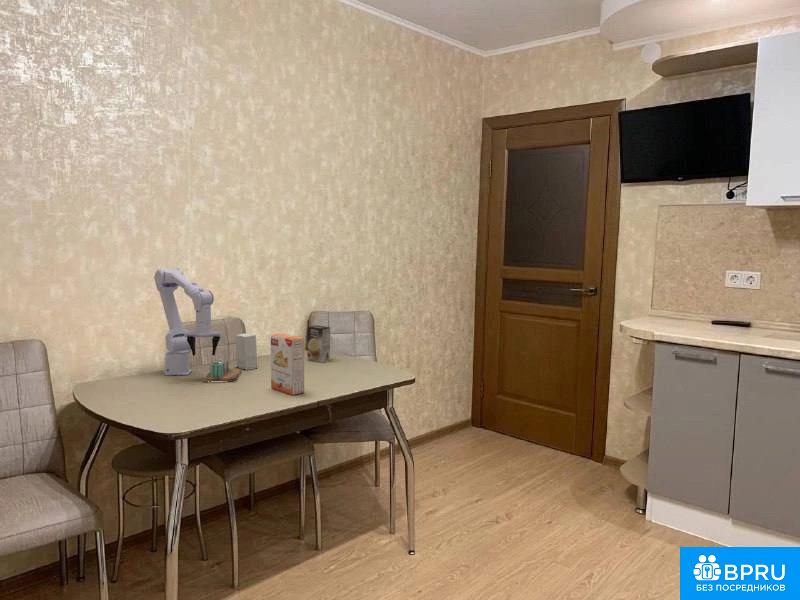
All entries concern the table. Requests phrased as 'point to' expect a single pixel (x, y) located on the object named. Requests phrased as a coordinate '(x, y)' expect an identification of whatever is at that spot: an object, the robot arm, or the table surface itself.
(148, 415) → the table surface
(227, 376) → the gear board
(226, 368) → the fixed gear
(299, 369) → the cracker box
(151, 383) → the table surface
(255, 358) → the skincare box
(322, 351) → the coffee box
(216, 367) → the green grooved hollow block
